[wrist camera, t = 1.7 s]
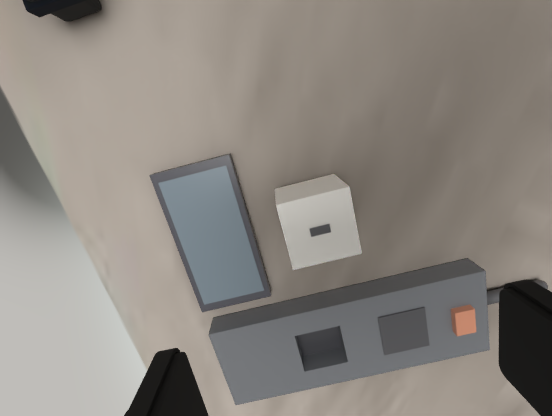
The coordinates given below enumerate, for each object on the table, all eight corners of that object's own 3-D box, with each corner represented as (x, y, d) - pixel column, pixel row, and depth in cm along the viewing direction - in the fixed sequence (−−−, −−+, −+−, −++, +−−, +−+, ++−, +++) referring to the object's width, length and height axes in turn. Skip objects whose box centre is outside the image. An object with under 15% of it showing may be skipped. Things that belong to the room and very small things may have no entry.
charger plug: (328, 169, 26) (349, 186, 19) (339, 221, 28) (362, 254, 21) (274, 183, 26) (276, 205, 20) (287, 233, 28) (293, 270, 21)
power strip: (540, 241, 29) (572, 255, 26) (539, 317, 31) (568, 339, 28) (213, 317, 30) (207, 340, 27) (238, 384, 33) (235, 411, 30)
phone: (230, 153, 26) (228, 154, 25) (271, 290, 30) (271, 296, 29) (153, 173, 26) (149, 175, 25) (204, 306, 30) (201, 312, 29)
